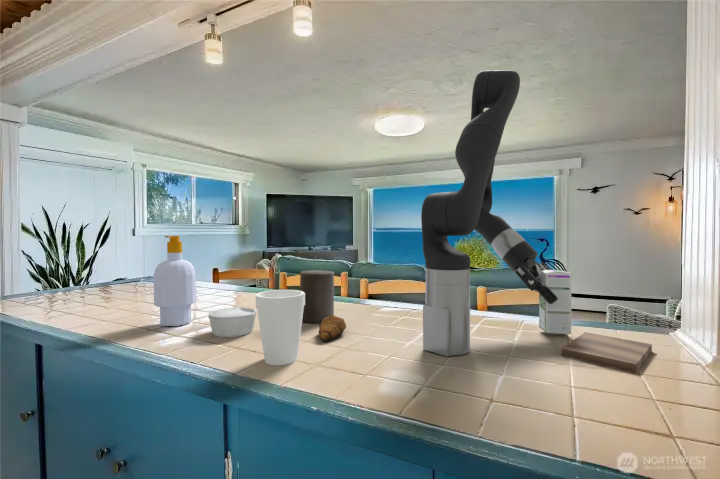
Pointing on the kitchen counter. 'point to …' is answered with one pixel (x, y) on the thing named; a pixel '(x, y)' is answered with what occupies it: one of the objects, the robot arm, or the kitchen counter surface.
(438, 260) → the robot arm
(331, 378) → the kitchen counter surface
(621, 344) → the walnut board
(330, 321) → the croissant
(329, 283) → the pillar candle
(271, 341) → the foam cup
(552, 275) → the syrup box
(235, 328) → the ramekin
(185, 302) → the soap bottle
